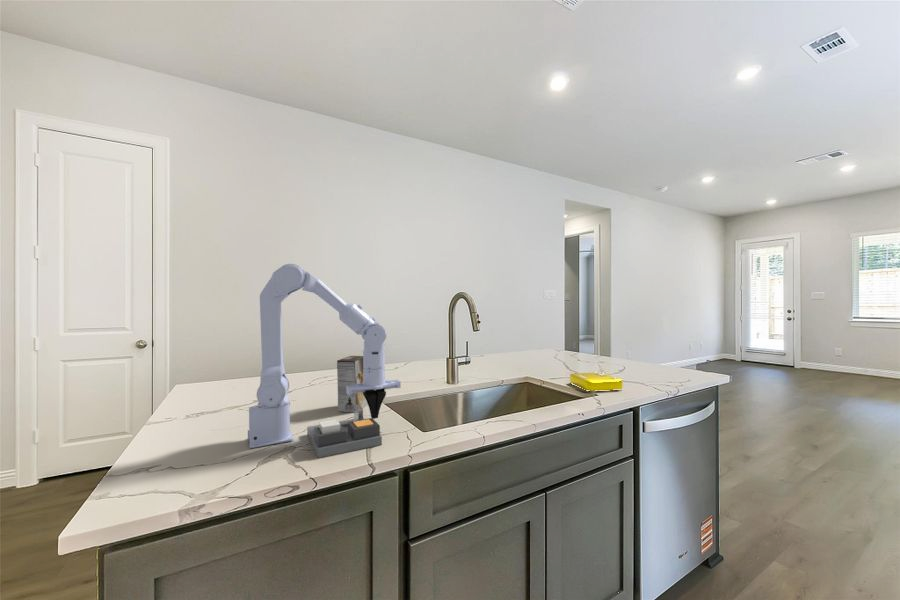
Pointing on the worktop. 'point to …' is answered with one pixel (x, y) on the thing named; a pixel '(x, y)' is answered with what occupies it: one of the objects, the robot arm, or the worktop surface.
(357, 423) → the orange button
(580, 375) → the element tile
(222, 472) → the worktop surface
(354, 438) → the panel
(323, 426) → the grey button
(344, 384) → the coffee box
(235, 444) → the worktop surface
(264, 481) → the worktop surface
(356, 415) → the paddle
